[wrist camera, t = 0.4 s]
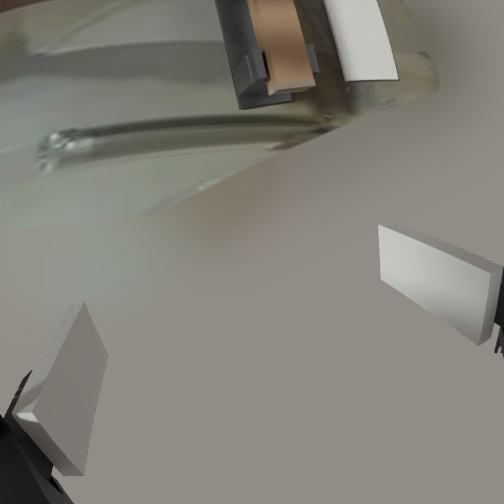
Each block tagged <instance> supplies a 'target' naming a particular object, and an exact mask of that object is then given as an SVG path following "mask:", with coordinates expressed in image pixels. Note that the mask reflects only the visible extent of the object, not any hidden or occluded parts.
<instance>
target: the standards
mask: <svg viewBox="0 0 504 504" xmlns="http://www.w3.org/2000/svg"><path fill="white" fill-rule="evenodd" d="M215 4H216V8H217V12H218V17H219V21H220V25H221V30H222V34H223V38H224V43H225V47H226V51H227V56H228V60H229V65H230V69H231V74H232V78H233V82H234V87H235V92H236V96H237V101H238V105H239V109H244V108H250V107H256V106H262V105H268V104H275V103H282V102H289V101H292V98H291V93H285V94H277V95H270V96H269V94H268V86H267V82H266V78H267V75H266V71H265V66H264V62H263V58H262V54H261V50H260V48H259V47H258V43H257V39H256V35H255V31H254V27H253V23H252V19H251V15H250V11H249V8H248V4H247V0H215ZM305 46H306V50H307V54H308V58H309V62H310V66H311V70H312V74H313V75H315V74H317V73H319V72H320V71H319V66H318V62H317V58H316V54H315V50H314V46H313V44H305Z"/></svg>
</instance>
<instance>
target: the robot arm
mask: <svg viewBox="0 0 504 504" xmlns="http://www.w3.org/2000/svg"><path fill="white" fill-rule="evenodd" d="M378 231H379V246H380V267H381V279H382V280H383V281H385V282H386V283H388V284H389V285H391V286H392V287H394V288H395V289H397V290H398V291H400V292H401V293H403V294H404V295H406V296H407V297H409V298H410V299H411V300H413V301H414V302H416V303H417V304H419V305H420V306H422V307H423V308H425V309H426V310H428V311H429V312H431V313H432V314H433V315H435V316H436V317H438V318H439V319H441V320H442V321H444V322H445V323H446V324H448V325H449V326H451V327H452V328H454V329H455V330H456V331H458V332H459V333H461V334H462V335H463V336H465V337H466V338H468V339H469V340H470V341H472V342H473V343H475V344H476V345H477V346H479V345H481V344H482V343H484V342H485V341H486V340H488V339H489V338H491V335H492V330H493V326H494V322H495V323H496V324H498V325H499V326H500V330H499V334H498V338H497V342H496V347H495V353H497V351H498V348H499V347H500V346H501V348H502V350H501V353H503V357H504V267H503V266H501V265H498V264H496V263H494V262H492V261H490V260H487V259H485V258H483V257H480V256H478V255H475V254H473V253H471V252H469V251H466V250H464V249H462V248H459V247H456V246H454V245H452V244H449V243H447V242H445V241H442V240H440V239H437V238H434V237H432V236H429V235H427V234H424V233H422V232H419V231H416V230H414V229H411V228H409V227H406V226H403V225H401V224H398V223H395V222H393V221H389V222H385V223H382V224H378ZM107 359H108V354H107V352H106V349H105V347H104V345H103V343H102V341H101V339H100V337H99V335H98V332H97V330H96V328H95V326H94V323H93V321H92V318H91V316H90V314H89V312H88V309H87V307H86V304H85V302H81V303H77V304H73V305H70V306H69V307H68V308H67V310H66V312H65V313H64V315H63V317H62V318H61V320H60V322H59V323H58V325H57V327H56V329H55V331H54V332H53V334H52V335H51V337H50V339H49V341H48V343H47V344H46V346H45V348H44V350H43V352H42V354H41V356H40V357H39V359H38V361H37V363H36V365H35V367H34V369H33V370H31V371H30V372H29V373H28V374H27V375H26V376H25V377H24V379H23V380H22V382H21V384H20V386H19V388H18V391H17V392H16V394H15V396H14V397H15V398H13V400H12V402H11V404H10V406H9V408H8V410H7V413H6V414H5V417H4V419H3V418H2V416H1V415H0V504H74V503H73V502H72V501H71V499H70V498H69V497H68V495H67V494H66V493H65V491H64V490H63V488H62V487H61V485H60V484H59V482H58V481H57V480H56V479H55V478H54V477H53V476H52V475H51V473H52V468H53V465H54V466H55V467H56V468H57V469H58V471H59V472H60V473H61V474H62V475H63V476H84V473H85V466H86V460H87V454H88V448H89V442H90V437H91V431H92V426H93V421H94V416H95V411H96V407H97V402H98V397H99V393H100V389H101V384H102V380H103V376H104V371H105V368H106V364H107Z"/></svg>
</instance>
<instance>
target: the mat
mask: <svg viewBox="0 0 504 504" xmlns="http://www.w3.org/2000/svg"><path fill="white" fill-rule="evenodd" d="M323 3H324V6H325V9H326V12H327V16H328V19H329V23H330V26H331V30H332V33H333V37H334V41H335V44H336V48H337V52H338V56H339V60H340V64H341V68H342V72H343V77H344V81H363V80H398V75H397V71H396V66H395V62H394V58H393V54H392V50H391V47H390V43H389V40H388V36H387V32H386V29H385V26H384V22H383V19H382V16H381V13H380V10H379V6H378V3H377V1H376V0H323Z"/></svg>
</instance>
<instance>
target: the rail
mask: <svg viewBox="0 0 504 504" xmlns="http://www.w3.org/2000/svg"><path fill="white" fill-rule="evenodd" d="M247 4H248V8H249V11H250V15H251V19H252V23H253V27H254V31H255V35H256V39H257V43H258V47H259V48H260V50H261V54H262V58H263V62H264V66H265V71H266V75H267V78H266V82H267V86H268V94H269V96H270V95H277V94H285V93H293V92H301V91H305V90H307V89H309V88H312V87H314V86H316V84H315V80H314V79H313V74H312V70H311V66H310V62H309V58H308V54H307V50H306V46H305V42H304V38H303V34H302V30H301V27H300V23H299V20H298V16H297V12H296V9H295V6H294V2H293V0H247Z"/></svg>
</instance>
